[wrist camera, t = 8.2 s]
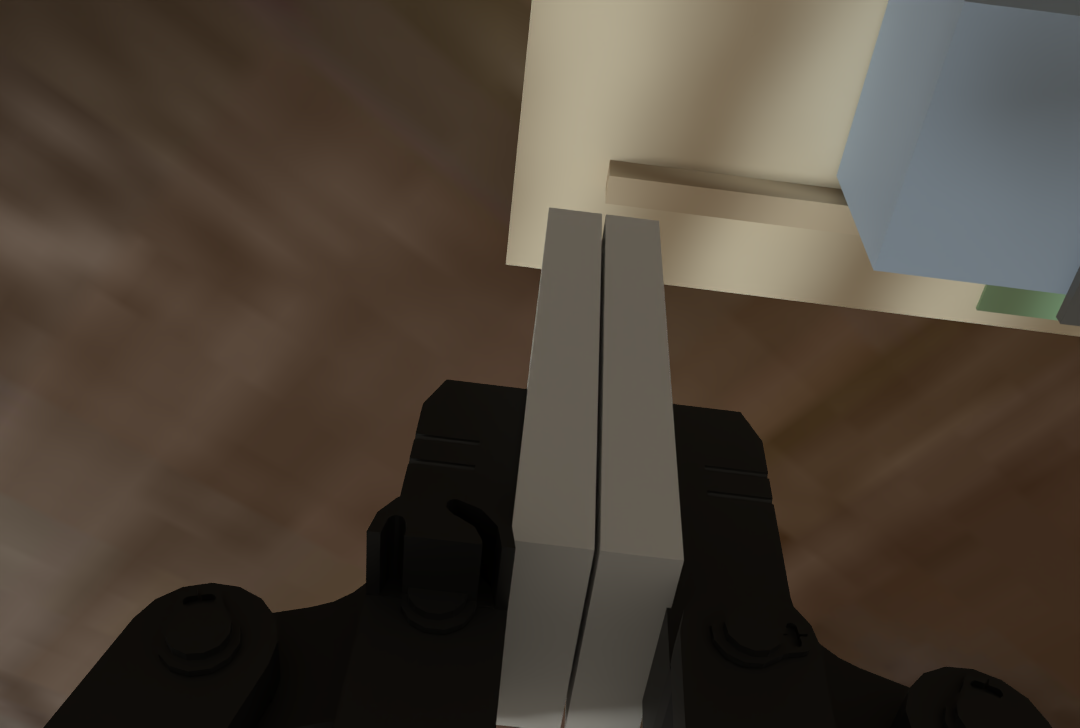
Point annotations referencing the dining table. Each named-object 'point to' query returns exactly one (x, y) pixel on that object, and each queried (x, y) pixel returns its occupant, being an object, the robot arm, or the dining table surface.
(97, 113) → the dining table surface
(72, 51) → the dining table surface
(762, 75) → the board
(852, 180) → the carriage
